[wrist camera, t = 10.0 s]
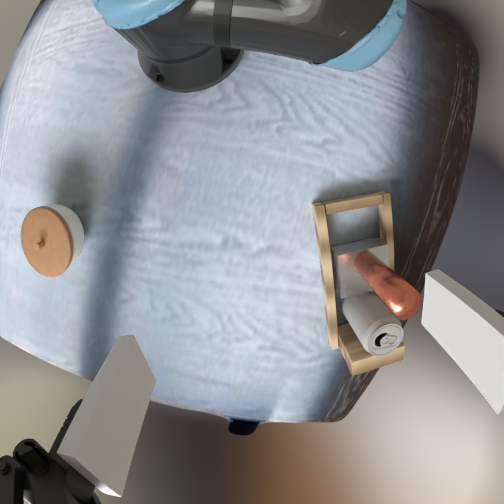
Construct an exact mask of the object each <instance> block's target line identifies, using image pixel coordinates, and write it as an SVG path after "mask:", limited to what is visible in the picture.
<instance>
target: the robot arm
mask: <svg viewBox="0 0 504 504" xmlns="http://www.w3.org/2000/svg"><path fill="white" fill-rule="evenodd" d="M92 2H93V5H94V7H95V8H96V10H97V11H98V12H99V13H100V14H101V15H102V17H103V19H104V20H105V23H106V24H107V25H109V26H110V27H113V28H114V29H115V30H116V31H117V32H118V33H120V34H121V35H122V36H123V37H124V38H125V39H126V40H128V41H129V42H130V43H131V44H132V45H133V46H134V47H135V48H137V49H138V59H139V63H140V65H141V68H142V70H143V71H144V73H145V74H146V75H147V76H148V77H149V78H150V79H151V80H152V81H153V82H154V83H156V84H157V85H159V86H160V87H162V88H164V89H167V90H170V91H174V92H184V93H186V92H196V91H201V90H204V89H207V88H210V87H212V86H214V85H216V84H218V83H219V82H221V81H222V80H224V79H225V78H226V77H228V76H229V75H230V74H231V73H232V72H233V70H234V69H235V68H236V67H237V65H238V63H239V62H240V59H241V57H242V54H243V49H244V50H251V51H257V52H263V53H269V54H274V55H280V56H284V57H289V58H294V59H298V60H302V61H306V62H308V63H309V64H311V65H314V66H327V67H331V68H335V69H338V70H342V71H348V72H352V71H358V70H363V69H365V68H367V67H369V66H371V65H372V64H374V63H375V62H376V61H378V60H379V59H380V58H381V57H382V56H383V55H384V54H385V53H386V51H387V50H388V49H389V48H390V47H391V45H392V44H393V42H394V41H395V39H396V37H397V36H398V34H399V32H400V30H401V27H402V25H403V21H402V20H401V18H402V17H403V16H404V15H405V14H406V6H407V4H406V0H92ZM421 324H422V325H423V326H424V327H425V328H426V329H427V330H428V332H430V334H432V336H433V337H434V338H435V339H436V340H437V341H438V343H439V344H440V345H441V346H442V347H443V348H444V349H445V350H446V351H447V353H448V354H449V355H450V356H451V357H452V358H453V359H454V361H456V363H457V364H458V365H459V367H460V368H461V369H462V370H463V371H464V373H465V374H466V375H467V376H468V377H469V379H470V380H471V381H472V382H473V384H474V385H475V386H476V387H477V388H478V390H479V391H480V392H481V393H482V395H483V396H484V397H485V399H486V400H487V401H488V402H489V404H490V405H491V406H492V408H493V409H494V410H495V412H496V413H497V414H500V413H501V412H502V411H504V312H501V311H499V310H496V311H495V310H493V309H492V308H491V307H490V306H488V305H487V304H486V303H484V302H483V301H482V300H480V299H479V298H478V297H476V296H475V295H474V294H472V293H471V292H470V291H468V290H467V289H466V288H464V287H463V286H461V285H460V284H459V283H457V282H455V281H454V280H453V279H451V278H450V277H449V276H447V275H446V274H444V273H443V272H442V271H440V270H439V269H437V270H434V271H431V272H428V273H426V275H425V291H424V303H423V314H422V322H421ZM155 382H156V378H155V376H154V375H153V373H152V371H151V369H150V367H149V365H148V363H147V361H146V359H145V357H144V355H143V353H142V351H141V349H140V347H139V345H138V343H137V341H136V339H135V337H134V335H126V336H119V338H118V339H117V341H116V343H115V344H114V346H113V348H112V349H111V351H110V353H109V355H108V356H107V358H106V360H105V361H104V363H103V365H102V367H101V368H100V370H99V372H98V374H97V375H96V377H95V379H94V381H93V383H92V384H91V387H90V388H89V390H88V392H87V394H86V395H85V397H84V399H80V400H79V401H78V402H77V403H76V404H75V405H74V406H73V407H72V409H71V411H70V413H69V414H68V416H67V419H66V420H65V422H64V424H63V427H62V428H61V430H60V432H59V433H58V435H57V437H56V440H55V441H54V443H53V446H52V448H51V450H50V452H49V453H47V452H46V451H45V450H44V449H43V448H42V447H41V446H40V445H39V444H38V442H36V441H35V440H34V439H25V440H23V441H21V442H20V443H19V444H18V445H17V446H16V447H15V449H14V451H13V457H11V456H8V455H5V456H3V457H1V458H0V504H23V503H24V501H23V500H25V501H26V502H28V503H29V504H101V502H100V500H99V498H98V496H97V495H96V494H95V493H94V492H93V491H94V488H95V487H97V488H98V489H99V490H101V491H102V492H103V493H105V494H109V495H114V496H119V497H122V493H123V490H124V486H125V482H126V478H127V474H128V471H129V467H130V464H131V460H132V457H133V453H134V450H135V446H136V443H137V439H138V436H139V433H140V429H141V426H142V423H143V420H144V416H145V413H146V410H147V407H148V404H149V401H150V398H151V395H152V392H153V388H154V385H155Z"/></svg>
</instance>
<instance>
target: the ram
mask: <svg viewBox="0 0 504 504" xmlns="http://www.w3.org/2000/svg"><path fill="white" fill-rule="evenodd" d="M330 252H331V261H332V270H333V280H334V288H335V289H336V291H337V292H338V294H339V295H340V297H341V298H342V299H343V298H347V297H351V296H355V295H359V294H362V293H366V292H370V291H374V292H375V293H376V294H377V295H378V296H379V297H380V298H381V299H382V300H383V302H384V303H385V304H386V305H387V306H388V307H389V308H390V310H391V311H392V312H393V313H394V314H395V315H396V316H397V318H399V319H401V320H406V319H409V318H411V317H412V316H414V315H415V314H416V313H417V312H418V310H419V308H420V306H421V303H422V297H421V294H420V293H419V292H418V291H417V290H416V289H414V288H413V287H412V286H411V285H410V284H409V283H407V282H406V281H405V280H404V279H403V278H402V277H400V276H399V275H398V274H397V273H396V272H395V271H393V270H392V269H391V268H390V267H389V244H388V243H386V242H385V241H383V240H382V239H380V238H379V237H374V238H369V239H365V240H360V241H356V242H351V243H346V244H342V245H337V246H332V247H330Z"/></svg>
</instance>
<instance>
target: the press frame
mask: <svg viewBox="0 0 504 504" xmlns="http://www.w3.org/2000/svg"><path fill="white" fill-rule="evenodd" d="M375 205H378V216H379V229H380V239H382V240H383V241H385V242H386V243H388V244H389V267H390V268H391V269H392V270H393V271H394V241H393V222H392V209H391V197H390V193H387V192H384V191H380V192H376V193H375V192H374V193H368V194H363V195H357V196H351V197H345V198H340V199H334V200H329V201H323V202H321V203H320V202H318V203H313V204H312V209H313V215H314V222H315V228H316V235H317V242H318V249H319V257H320V265H321V273H322V281H323V290H324V300H325V309H326V320H327V331H328V342H329V344H330V347H331V349H332V350H333V349H337V348H338V346H339V348H340V350H341V352H342V354H343V356H344V359H345V361H346V363H347V365H348V367H349V369H350V372H351V374H352V376H353V375H357V374H360V373H364V372H367V371H370V370H373V369H376V368H379V367H382V366H385V365H388V364H391V363H394V362H397V361H399V360H402V359H403V355H404V349H405V345H404V343H403V342H402V341H401V343H400V344H399V346H398V347H397V348H396V349H395V350H394V351H392V352H391V353H389V354H387V355H385V356H380V357H377V356H373V355H372V354H371V353H369V352H367V351H366V350H365V349H364V347H363V345H362V344H361V342H360V340H359V339H358V337H357V335H356V334H355V332H354V330H353V329H352V327H351V325H350V324H349V323H347V324H343V325H340V326H337V316H336V303H335V291H334V280H333V271H332V261H331V252H330V244H329V236H328V229H327V221H326V214H332V213H337V212H342V211H348V210H353V209H358V208H364V207H369V206H375ZM325 213H326V214H325ZM382 301H383V300H382ZM383 303H384V302H383ZM384 304H385V303H384ZM385 305H386V304H385ZM386 306H387V305H386ZM387 307H388V306H387ZM388 308H389V307H388ZM389 309H390V308H389ZM390 311H391V310H390ZM391 312H392V311H391ZM392 313H393V312H392Z"/></svg>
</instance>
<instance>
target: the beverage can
mask: <svg viewBox="0 0 504 504" xmlns="http://www.w3.org/2000/svg"><path fill="white" fill-rule="evenodd" d="M342 311H343V314H344V315H345V317H346V319H347V320H348V322H349V324H350V325H351V327H352V329H353V330H354V332H355V334H356V335H357V337H358V339H359V340H360V342H361V344H362V345H363V347H364V349H365V350H366V351H367V352H369V353H371V354H372V355H373V356H377V357H380V356H385V355H387V354H389V353H391V352H392V351H394V350H395V349H396V348H397V347H398V346H399V344H400V343H401V341H402V338H403V329H402V326H401V323H400V321H399V320H398V319H397V317H396V316H395V315H394V314H393V313H392V312H391V311H390V309H389V308H388V307H387V306H386V305H385V304H384V303H383V301H382V300H381V299H380V298H379V297H378V296H377V295H376V294H375V292H374V291H370V292H366V293H362V294H359V295H355V296H351V297H347V298H344V300H343V303H342Z"/></svg>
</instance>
